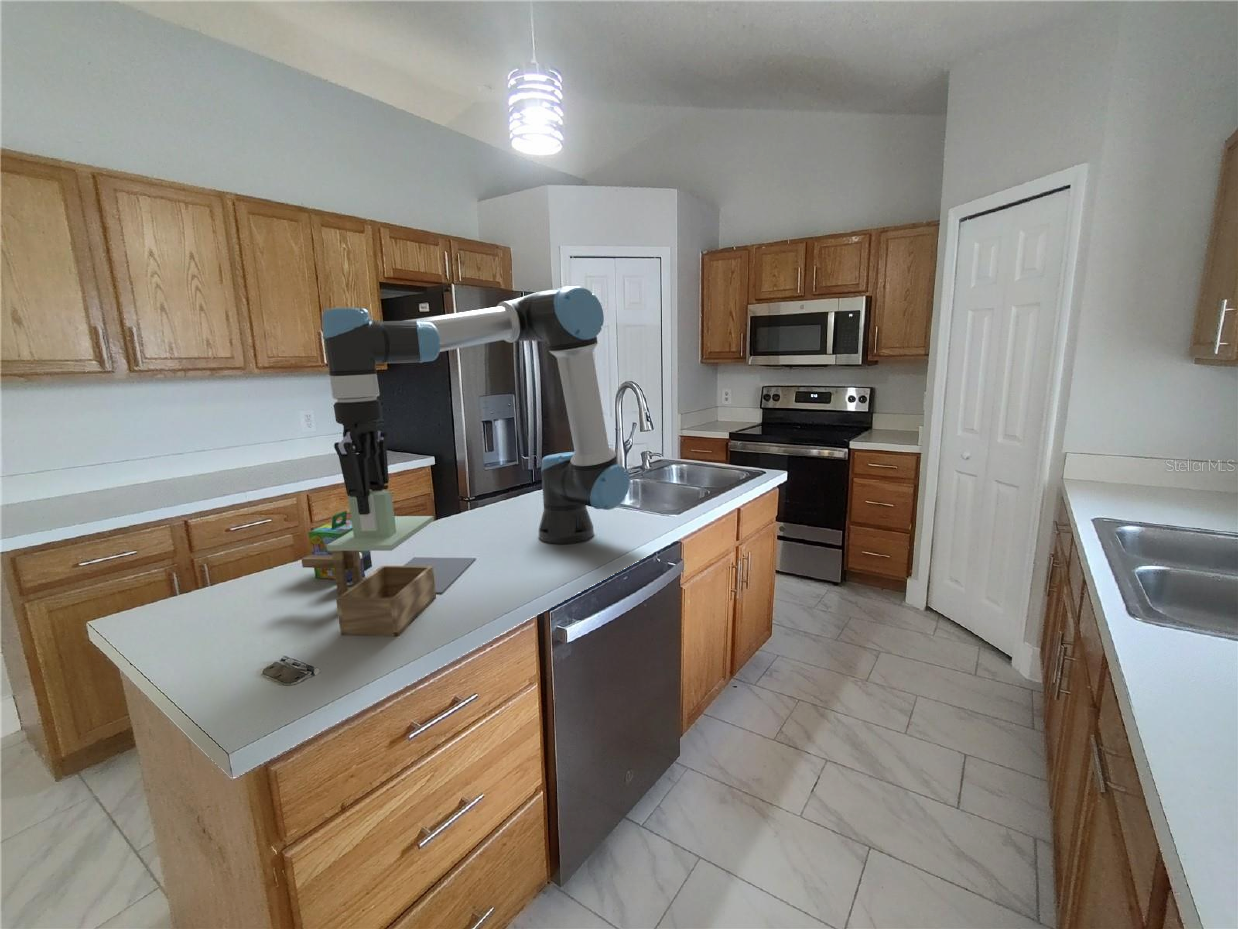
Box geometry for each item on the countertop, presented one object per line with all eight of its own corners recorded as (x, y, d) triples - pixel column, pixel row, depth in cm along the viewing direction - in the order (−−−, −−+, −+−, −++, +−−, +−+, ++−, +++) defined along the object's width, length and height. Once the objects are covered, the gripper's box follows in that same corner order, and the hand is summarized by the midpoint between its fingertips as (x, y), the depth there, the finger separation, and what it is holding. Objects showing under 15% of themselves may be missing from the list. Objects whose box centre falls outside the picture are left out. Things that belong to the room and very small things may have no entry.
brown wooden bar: (354, 568, 110) (351, 550, 109) (302, 567, 111) (299, 549, 110) (360, 563, 112) (358, 545, 111) (310, 563, 113) (307, 545, 113)
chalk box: (341, 564, 136) (333, 506, 133) (373, 566, 134) (366, 507, 131) (313, 578, 127) (304, 517, 125) (347, 581, 125) (339, 518, 122)
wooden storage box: (398, 636, 99) (390, 566, 97) (311, 634, 101) (300, 565, 99) (436, 597, 115) (429, 536, 112) (360, 596, 117) (352, 536, 114)
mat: (475, 559, 136) (475, 558, 136) (442, 593, 117) (442, 592, 117) (414, 558, 138) (414, 557, 138) (371, 592, 119) (370, 590, 119)
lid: (391, 550, 96) (385, 500, 94) (327, 550, 97) (319, 501, 95) (433, 520, 113) (428, 477, 111) (378, 521, 114) (372, 478, 112)
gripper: (361, 396, 105) (377, 515, 109) (308, 404, 90) (329, 542, 94) (398, 395, 104) (413, 514, 109) (351, 403, 89) (370, 542, 94)
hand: (374, 527), depth 101 cm, fingers closed on lid, 2 cm apart
